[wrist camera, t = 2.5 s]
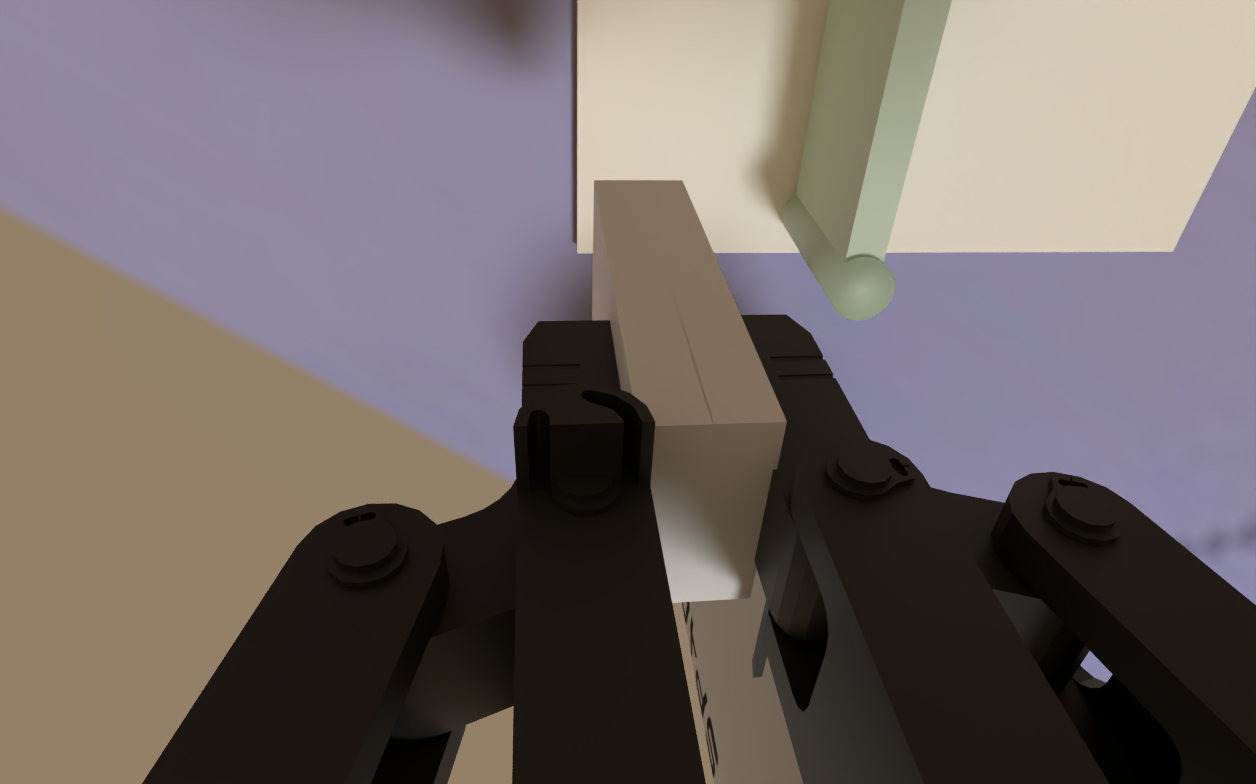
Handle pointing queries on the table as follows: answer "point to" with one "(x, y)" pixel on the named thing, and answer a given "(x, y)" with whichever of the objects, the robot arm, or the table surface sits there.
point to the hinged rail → (862, 144)
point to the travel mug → (738, 693)
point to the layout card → (926, 117)
